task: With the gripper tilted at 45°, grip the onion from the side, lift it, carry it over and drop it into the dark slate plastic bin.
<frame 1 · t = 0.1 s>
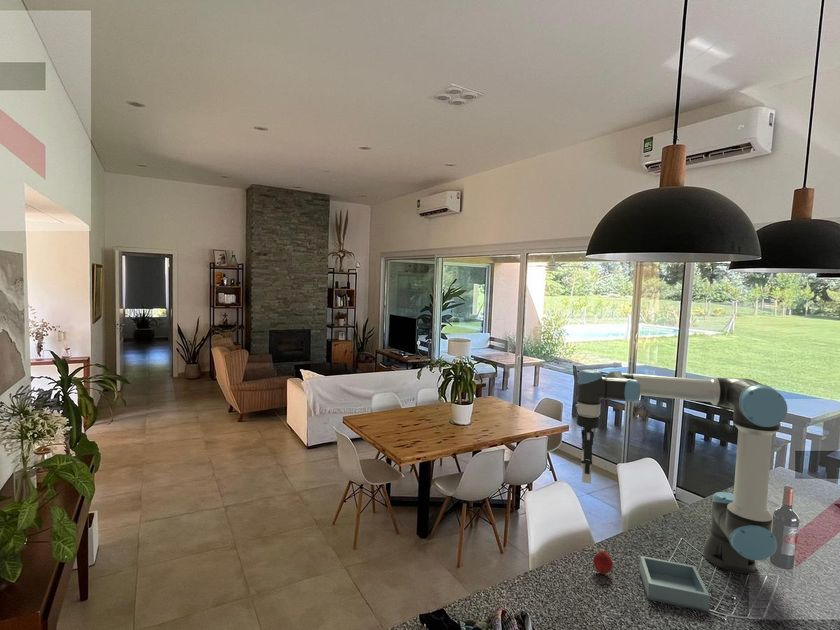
hand: (585, 475, 157), 28 cm above the kitchen counter, tool pointing down, fingers open, 13 cm apart
onion: (602, 574, 147), on the kitchen counter
bin: (671, 589, 140), on the kitchen counter
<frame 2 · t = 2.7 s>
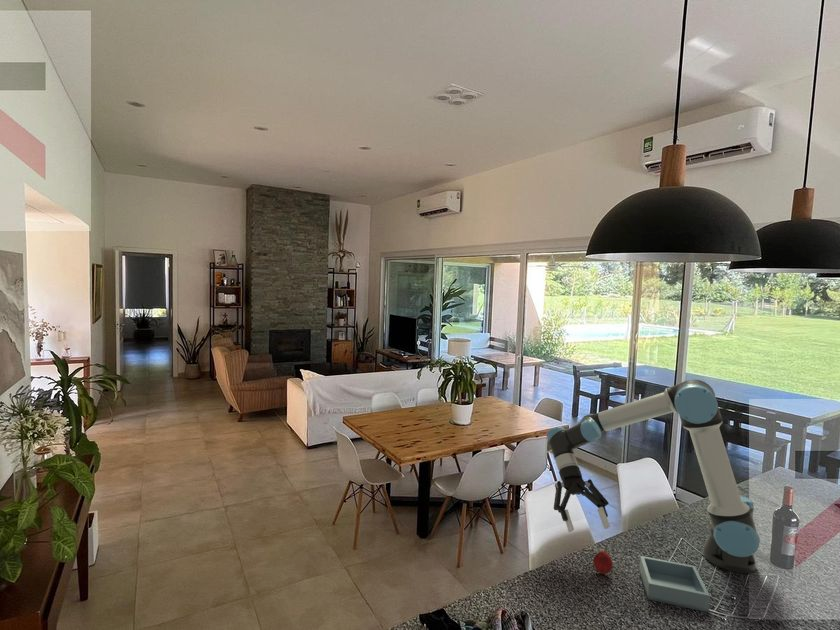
hand: (589, 529, 153), 11 cm above the kitchen counter, tool tilted 45°, fingers open, 13 cm apart
nothing on the kitchen counter moved.
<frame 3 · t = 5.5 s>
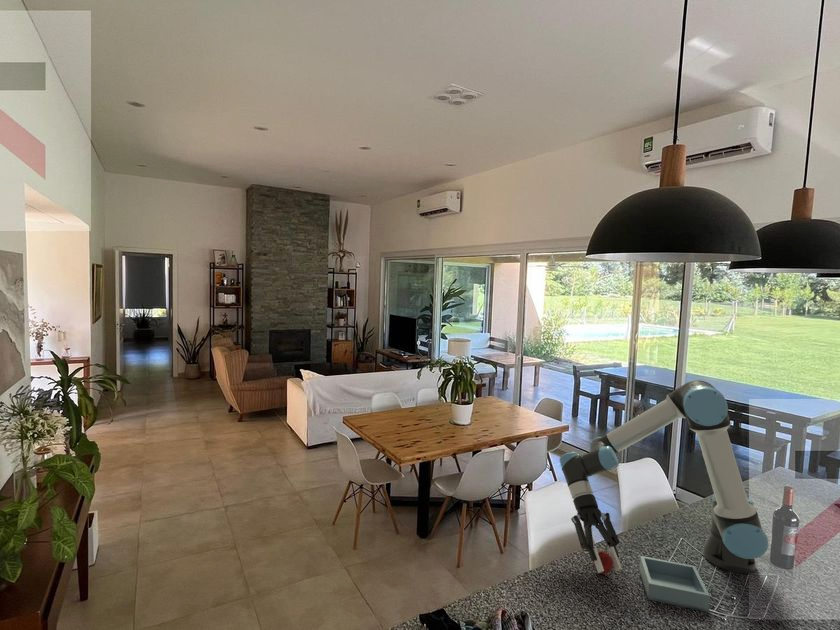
hand: (609, 570, 143), 3 cm above the kitchen counter, tool tilted 45°, fingers closed on onion, 6 cm apart
onion: (602, 574, 147), on the kitchen counter, touching gripper
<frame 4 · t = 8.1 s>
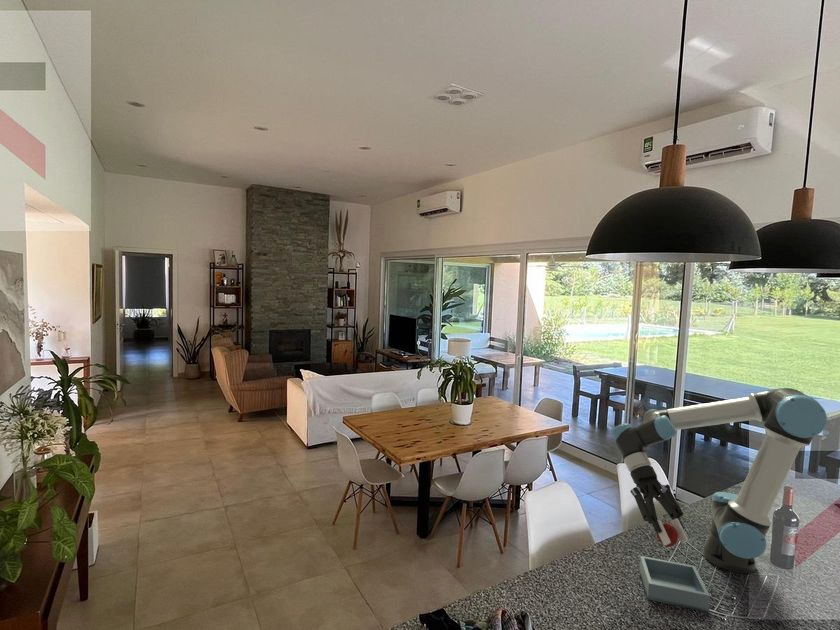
hand: (676, 542, 136), 17 cm above the kitchen counter, tool tilted 45°, fingers closed on onion, 6 cm apart
onion: (666, 547, 140), point 13 cm above the kitchen counter, touching gripper
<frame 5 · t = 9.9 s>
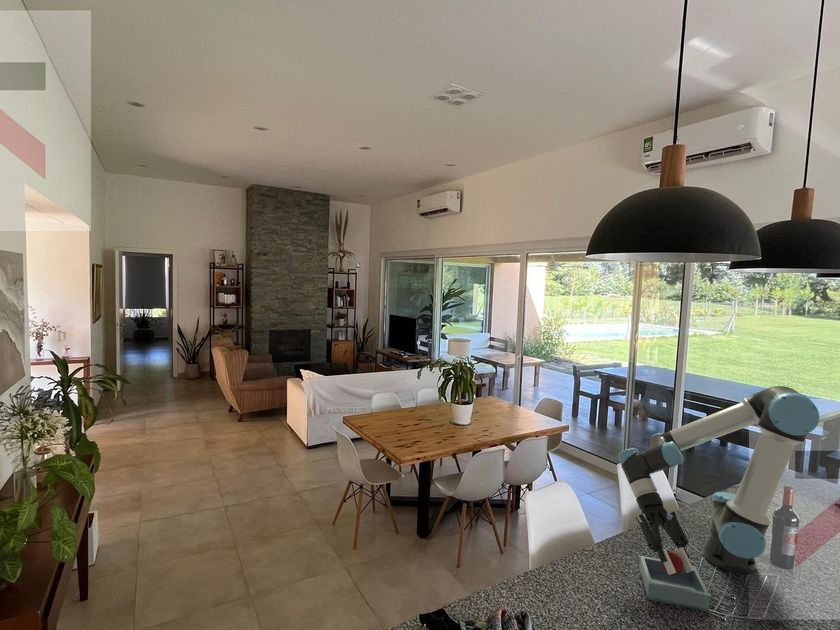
hand: (681, 572, 136), 8 cm above the kitchen counter, tool tilted 45°, fingers closed on onion, 6 cm apart
onion: (671, 576, 140), point 4 cm above the kitchen counter, touching gripper
when the fingers open (6 cm above the kitchen counter, at t = 11.0 s): onion drops 2 cm, resting on bin.
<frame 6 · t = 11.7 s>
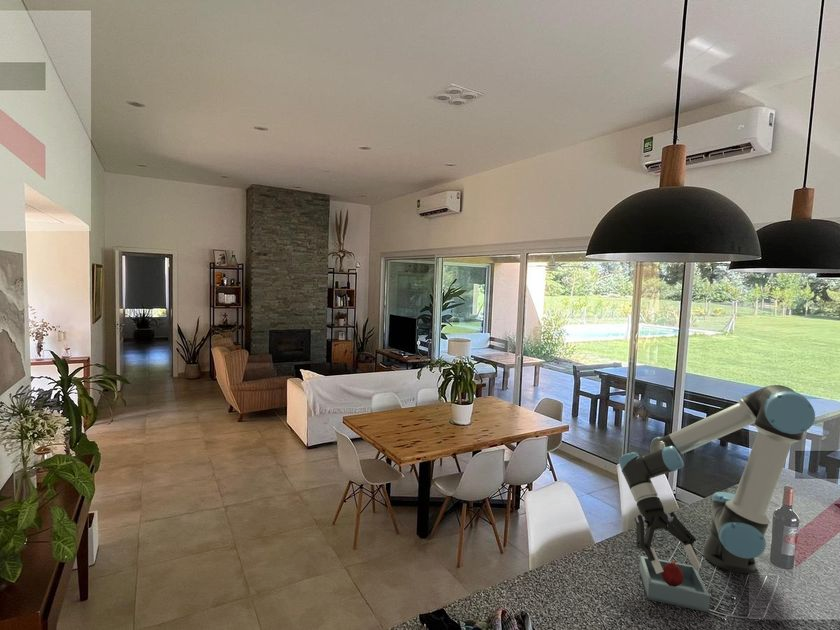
hand: (679, 570, 137), 8 cm above the kitchen counter, tool tilted 45°, fingers open, 13 cm apart
onion: (671, 587, 140), point 1 cm above the kitchen counter, touching bin
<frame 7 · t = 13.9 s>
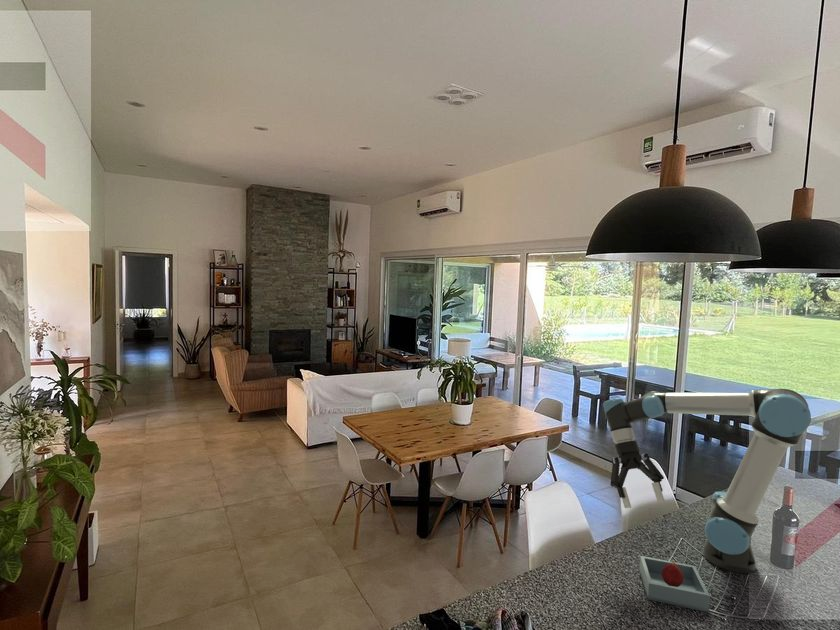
hand: (645, 505, 154), 19 cm above the kitchen counter, tool tilted 30°, fingers open, 13 cm apart
nothing on the kitchen counter moved.
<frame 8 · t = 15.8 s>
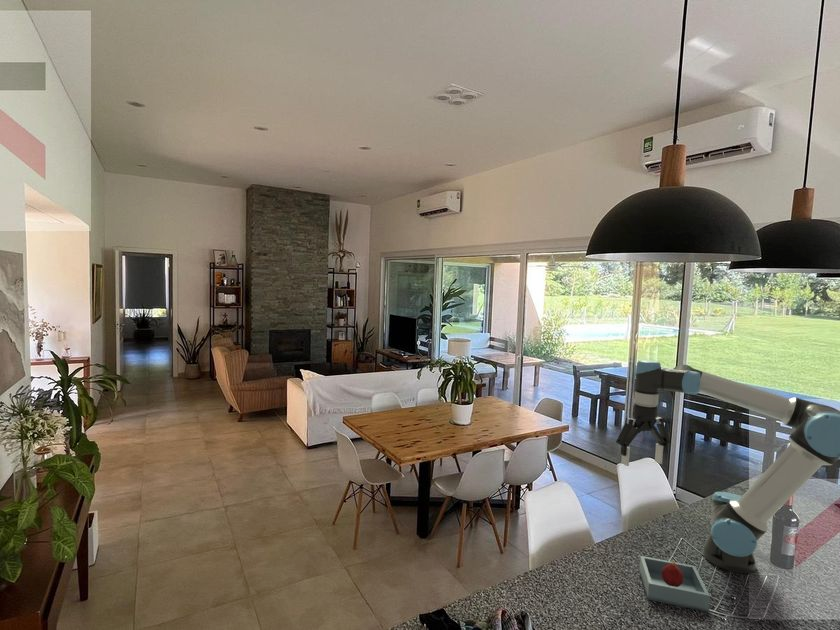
hand: (642, 463, 159), 32 cm above the kitchen counter, tool pointing down, fingers open, 13 cm apart
nothing on the kitchen counter moved.
at the end: onion inside the target area on the bin (0.1 cm from its centre), point 0.6 cm above the bin's base; the gripper is holding nothing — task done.
